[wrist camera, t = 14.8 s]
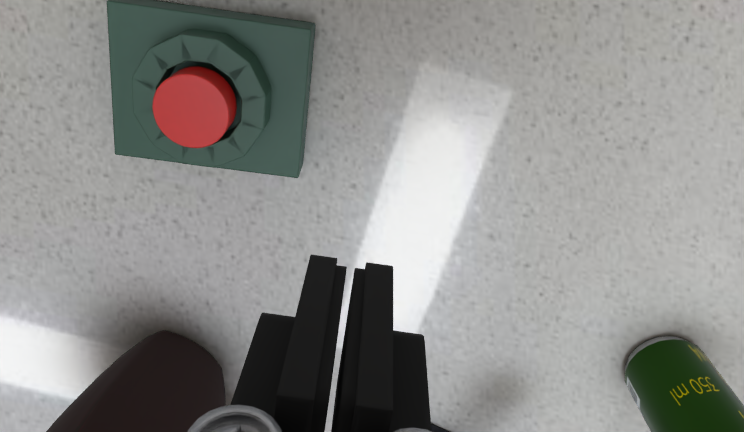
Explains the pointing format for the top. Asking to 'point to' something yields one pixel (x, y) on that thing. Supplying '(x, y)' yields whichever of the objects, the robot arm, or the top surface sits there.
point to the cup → (149, 390)
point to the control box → (229, 59)
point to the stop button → (194, 107)
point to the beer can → (681, 389)
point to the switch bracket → (437, 429)
